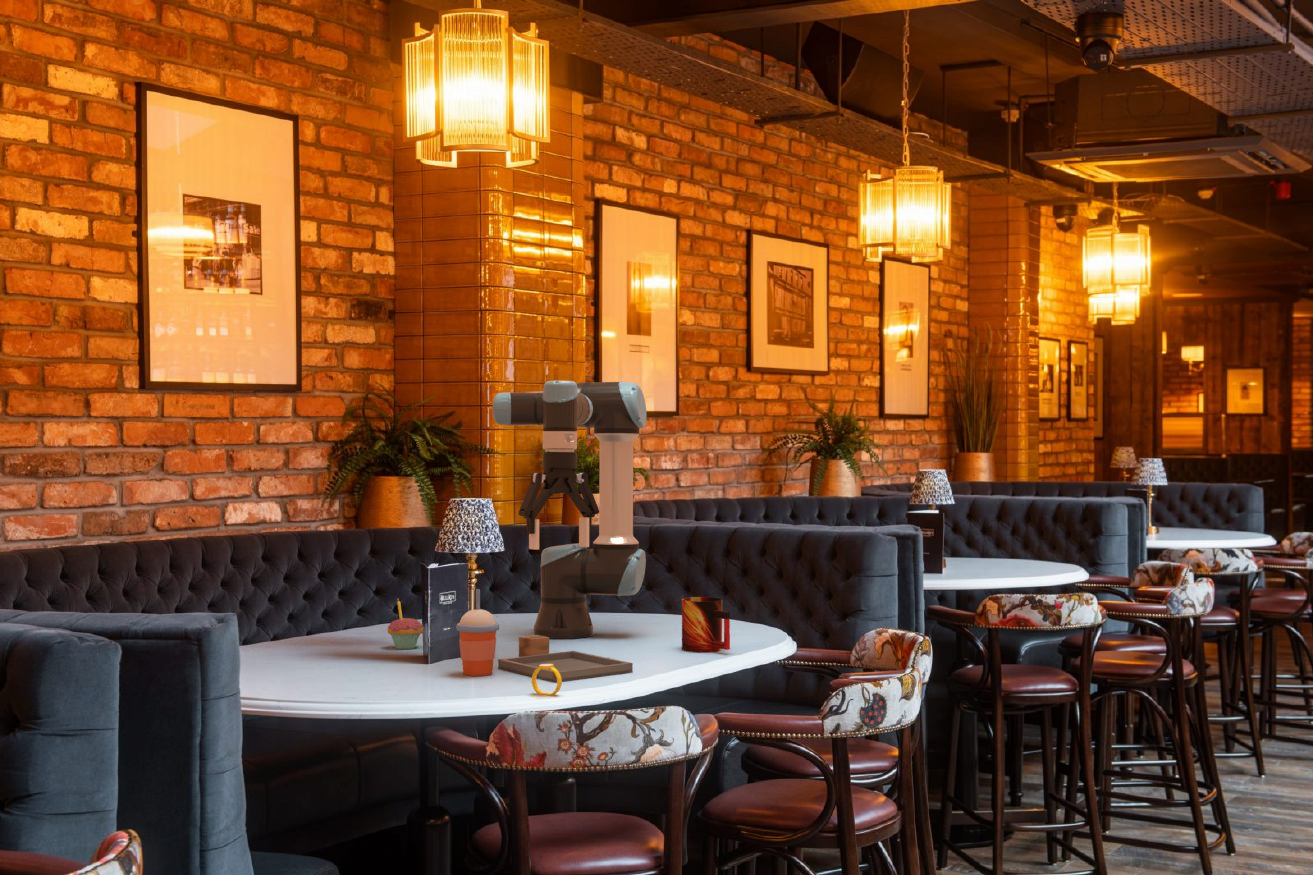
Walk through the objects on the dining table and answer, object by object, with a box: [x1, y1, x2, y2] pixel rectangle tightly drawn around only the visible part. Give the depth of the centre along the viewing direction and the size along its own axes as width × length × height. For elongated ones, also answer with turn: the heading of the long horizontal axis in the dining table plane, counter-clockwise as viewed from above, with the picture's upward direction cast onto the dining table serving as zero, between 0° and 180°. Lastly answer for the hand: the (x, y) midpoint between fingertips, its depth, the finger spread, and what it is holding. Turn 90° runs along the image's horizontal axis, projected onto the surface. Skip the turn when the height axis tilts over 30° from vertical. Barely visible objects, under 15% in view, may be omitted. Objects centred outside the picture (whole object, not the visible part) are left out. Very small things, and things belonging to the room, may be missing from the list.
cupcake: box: [387, 598, 424, 650], centre depth 330 cm, size 9×8×12 cm
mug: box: [681, 596, 731, 654], centre depth 327 cm, size 10×14×12 cm
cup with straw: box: [455, 588, 500, 677], centre depth 293 cm, size 9×9×18 cm
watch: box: [531, 664, 562, 696], centre depth 269 cm, size 6×3×6 cm, turn 67°
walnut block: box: [518, 634, 550, 657], centre depth 314 cm, size 5×5×5 cm
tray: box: [497, 650, 634, 683], centre depth 297 cm, size 22×20×2 cm
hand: (559, 548), depth 301 cm, fingers open, 13 cm apart
